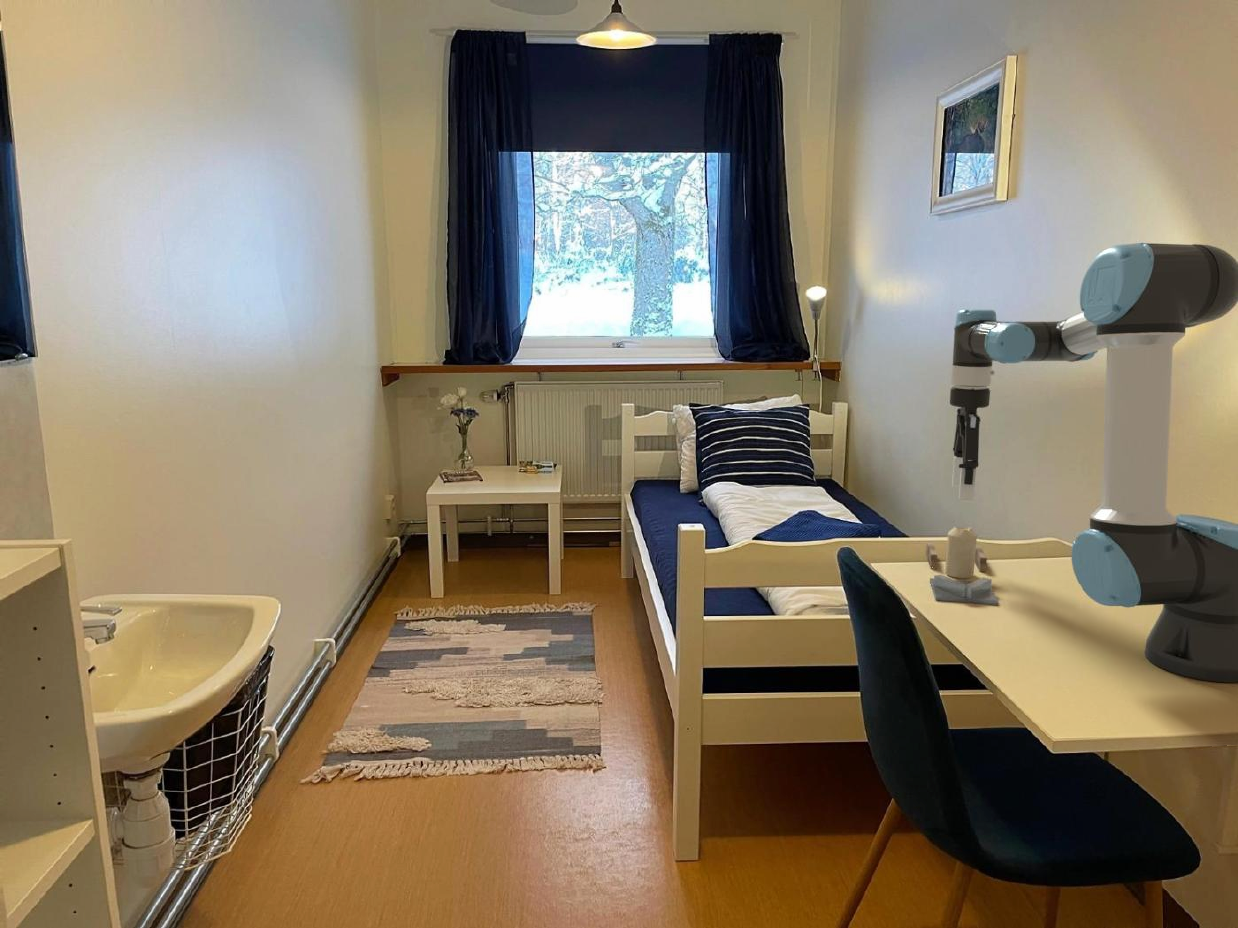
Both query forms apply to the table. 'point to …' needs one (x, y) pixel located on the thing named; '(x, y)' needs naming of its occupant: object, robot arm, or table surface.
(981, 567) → the channel
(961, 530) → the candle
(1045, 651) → the table surface
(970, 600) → the v block
